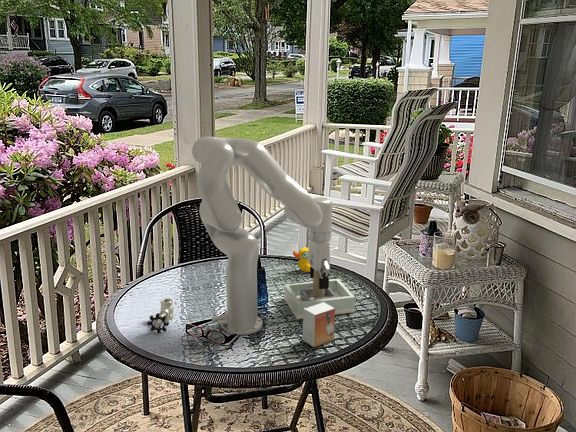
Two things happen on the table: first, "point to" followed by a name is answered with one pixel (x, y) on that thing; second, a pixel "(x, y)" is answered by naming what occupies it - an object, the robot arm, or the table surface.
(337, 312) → the housing
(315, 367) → the table surface
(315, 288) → the handle
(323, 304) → the small box
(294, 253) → the duckling
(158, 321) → the valve
